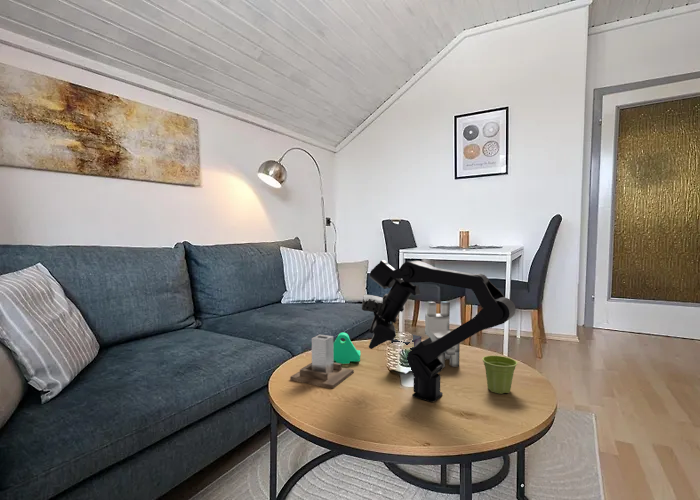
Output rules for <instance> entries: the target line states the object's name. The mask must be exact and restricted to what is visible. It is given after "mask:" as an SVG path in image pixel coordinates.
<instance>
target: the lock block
mask: <svg viewBox="0 0 700 500" xmlns="http://www.w3.org/2000/svg"><path fill="white" fill-rule="evenodd" d="M333 343H334V335H327V334H318V335H316V336H314V337H311V363H312V370H313V371H319V372H324V373H328V375H330V374H331V373H333V372H334V365H333V362H334V361H333Z"/></svg>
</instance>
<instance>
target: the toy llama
mask: <svg viewBox="0 0 700 500" xmlns="http://www.w3.org/2000/svg"><path fill="white" fill-rule="evenodd" d="M426 303H427V304H426V306H427V307H426V308H427V312H426V313H425V315H424V316H425V317H424V320H425V321H424V322H425V325H424V329H425V330H424V331H425V332H424V334H425V335H426V336H427V338H429V337H430V338H431V340H432V341H436V340H438V339H440V338H441V337H443V336H444V335H446V334H448V333H449V332H451V331H452V330H450V318H451V317H450V310H451V309H450V308H451V307H450V305H451V303H450V302H449V301H440V313H437V302H435V301H427V302H426ZM460 343H461V342H460ZM460 343H459V344H457V345H455V346H453V347H452V348H450V349H448V350H447V351H445V352H443V353H442V354H441V355H440V357H438V359H439V360H440V361H441V362H442V364H443V365H444V366H443V368H445V367H446V360H449V366H450V367H452V368H458V367H460V353H461V352H460V351H461V350H460V347H461V344H460ZM445 359H446V360H445Z"/></svg>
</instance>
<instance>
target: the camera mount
mask: <svg viewBox="0 0 700 500" xmlns="http://www.w3.org/2000/svg"><path fill="white" fill-rule="evenodd" d="M341 339H344V341H343V340H341ZM361 354H362V353H361V350H360V349H357V348H356V346H355V345H354V344H353V341H351V339H350V336H349V334H348V333H346V332H344V331H343V332H340V333H339V334H338V335H337V337H336V338H335V340H334V341H333V362H335V363H340V364H341V365H342V364H343V365H345V364H347V365H348V364H350V362H361Z"/></svg>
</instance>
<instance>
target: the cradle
mask: <svg viewBox="0 0 700 500" xmlns="http://www.w3.org/2000/svg"><path fill="white" fill-rule="evenodd" d="M333 365H334V372H333V373H331V374H330V375H328V373H324V372H319V371H313V370H312V362H310V363H309V364H307V365H305V366H304V367H302V368H300V369H299V371H298V372H296V373H294V374H292V375H291V376H290V377H289V379H290V381H293V382H294V381H295V382H298V383H299V382H300V383H304V384H309V385H313V386H317V387H322V388H328V389H332V390H333V389H335V388H336V387H337V386H338V385H340V384H341V383H342V382H343V381H345V380H346V379H348V378H349V377H350V376H351V375H352V374H354V372H355V371H354V370H355V369H351V368H347V367H342V364H340V363H336V361H333Z"/></svg>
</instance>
